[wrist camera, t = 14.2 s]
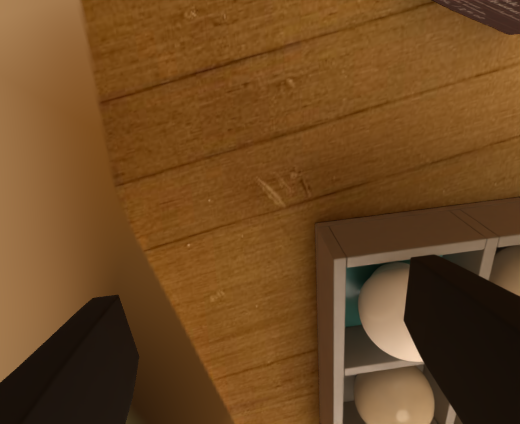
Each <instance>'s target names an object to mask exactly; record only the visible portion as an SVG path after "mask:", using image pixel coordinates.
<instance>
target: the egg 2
mask: <svg viewBox="0 0 520 424" xmlns="http://www.w3.org/2000/svg"><path fill="white" fill-rule="evenodd" d="M489 281H491V282H493V283H494V284H496V285H498V286H500V287H502V288H504V289H506V290H508V291H510V292H512V293H514V294H516V295H518V296H520V245H512V246H507V247H505V248H503V249H502V250H500V251H498V252H497V253H496V254H495V256H494V260H493V264H492V268H491V272H490V276H489Z"/></svg>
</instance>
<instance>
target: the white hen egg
mask: <svg viewBox="0 0 520 424" xmlns="http://www.w3.org/2000/svg"><path fill="white" fill-rule="evenodd" d="M409 268H410V265H409V264H406V263H403V262H391V263H387V264H385V265H382V266H381V267H379V268H378V269H376V270H375V271H374V272H373V274H372V275H371V277H370V278H369V279H368V280H367V281H366V282H365V283H364V284H363V286H362V288H361V290H360V293H359V297H358V310H359V316H360V320H361V323H362V325H363V328H364V330H365V331H366V333H367V335H368V336H369V337H370V339H371V340H372V341H373V342H374V343H375V344H376V345H377V346H378V347H379V348H380V349H382V350H383V351H384V352H386V353H388V354H389V355H391V356H393V357H396V358H398V359H402V360H406V361H412V362H423V360H422V358H421V357H420V355H419V353H418V351H417V348H416V346H415V344H414V342H413V340H412V338H411V336H410V334H409V332H408V329H407V327H406V325H405V323H404V321H403V319H404V311H405V302H406V294H407V285H408V276H409Z"/></svg>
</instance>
